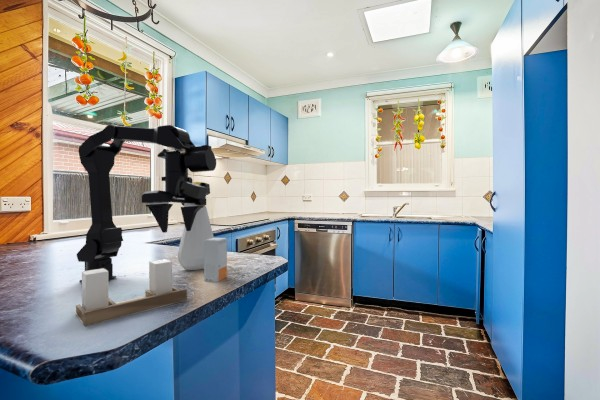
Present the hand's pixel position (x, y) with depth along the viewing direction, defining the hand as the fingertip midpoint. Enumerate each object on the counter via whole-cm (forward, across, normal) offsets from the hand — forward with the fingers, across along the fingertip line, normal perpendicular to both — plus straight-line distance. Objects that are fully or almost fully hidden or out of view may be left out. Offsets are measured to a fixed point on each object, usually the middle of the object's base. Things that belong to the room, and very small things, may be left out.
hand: (177, 231), depth 79 cm
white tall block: (+15, -19, +5) cm, 25 cm away
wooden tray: (+16, -14, 0) cm, 21 cm away
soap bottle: (+13, +19, +7) cm, 24 cm away
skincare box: (+15, +9, -5) cm, 18 cm away
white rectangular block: (+15, -8, -1) cm, 17 cm away
